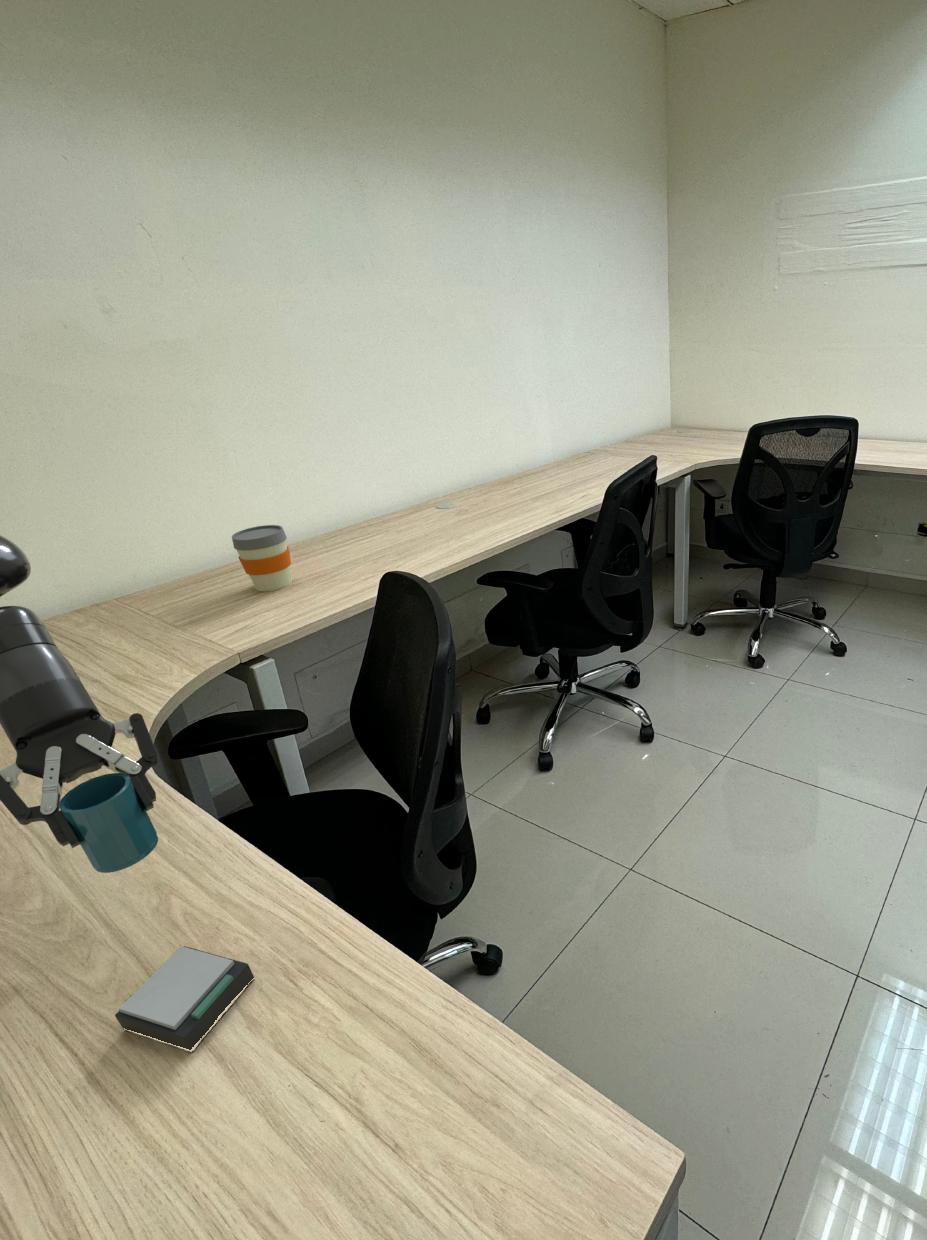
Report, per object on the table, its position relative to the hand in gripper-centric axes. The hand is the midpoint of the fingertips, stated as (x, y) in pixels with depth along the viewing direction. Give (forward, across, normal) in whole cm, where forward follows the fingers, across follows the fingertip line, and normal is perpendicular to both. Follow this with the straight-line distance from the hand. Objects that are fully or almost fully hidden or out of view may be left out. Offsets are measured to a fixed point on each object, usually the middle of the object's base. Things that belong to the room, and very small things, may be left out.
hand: (114, 825), depth 68 cm
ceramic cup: (+2, 0, +5) cm, 5 cm away
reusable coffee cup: (-60, +57, +85) cm, 118 cm away
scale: (+20, -2, +4) cm, 21 cm away
